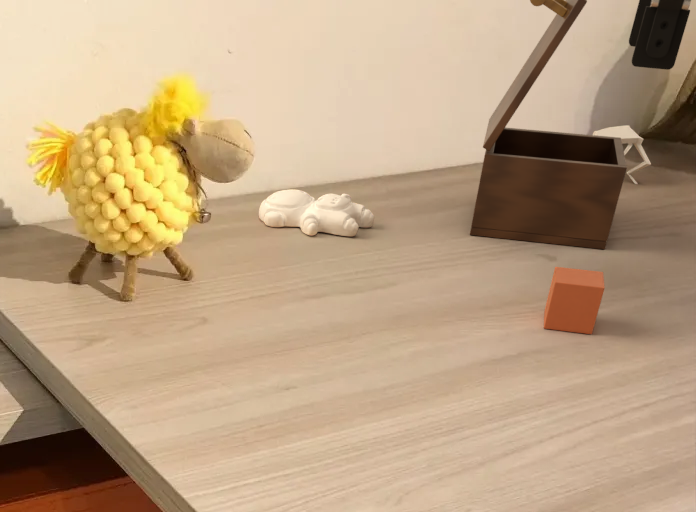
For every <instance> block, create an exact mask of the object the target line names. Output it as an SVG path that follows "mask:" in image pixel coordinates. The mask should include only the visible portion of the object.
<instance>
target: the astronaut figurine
mask: <svg viewBox="0 0 696 512" xmlns="http://www.w3.org/2000/svg"><path fill="white" fill-rule="evenodd" d="M258 218H259V220H260V221H261V222H263V223H264V224H265V225H266V226H267V227H271V228H283V227H288V228H289V227H292V228H294V227H297V228H300V230H301V232H302V233H303V234H305V235H307V236H312V237H313V236H316V235H317V233H326V234H331V235H335V236H336V235H337V236H342V237H355V236H356V235H357V233H358V231H359V228H372V227H373V225H374V222H375V215H374V213H373V212H372V211H371V209H368V208H366V206H365V205H364V204H360V203H356V202H354V201H352V196H351V195H350V194H347V193H342V194H341V195H340V194H337V193H326V194H323V195H321V196H320V197H318V198H317V199H316V198H315V197H314V196H311V195H310V194H309V193H308V192H307V191H304V190H301V189H294V188H293V189H292V188H291V189H289V188H288V189H283V190H278V191H275V192H273V193H271V194H270V195H268V196H267V198H265V199H263V201H262V202H261V203H260V206H259V209H258Z"/></svg>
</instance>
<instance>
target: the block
mask: <svg viewBox="0 0 696 512" xmlns="http://www.w3.org/2000/svg"><path fill="white" fill-rule="evenodd" d="M604 293H605V277H604V272H603V271H597V270H589V269H581V268H580V269H578V268H570V267H561V266H555V267H554V270H553V275H552V278H551V282H550V287H549V291H548V294H547V298H546V302H545V307H544V312H543V329H544V330H545V329H546V330H554V331H562V332H568V333H576V334H586V335H592V334H593V332H594V329H595V326H596V321H597V317H598V315H599V311H600V310H599V309H600V307H601V303H602V299H603V296H604Z"/></svg>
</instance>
